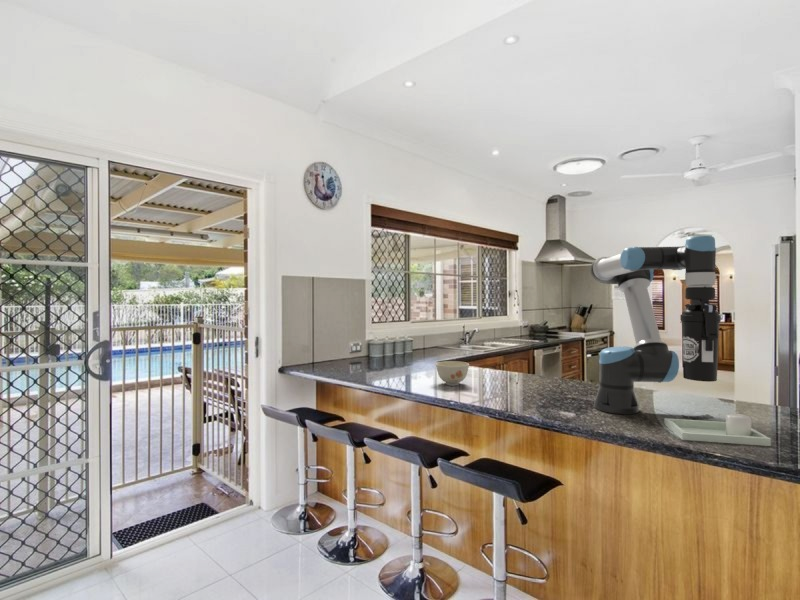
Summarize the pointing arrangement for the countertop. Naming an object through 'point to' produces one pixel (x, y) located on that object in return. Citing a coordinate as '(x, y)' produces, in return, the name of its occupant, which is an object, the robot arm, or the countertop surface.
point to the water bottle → (697, 346)
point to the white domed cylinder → (738, 424)
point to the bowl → (452, 371)
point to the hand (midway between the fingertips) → (699, 359)
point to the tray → (712, 432)
